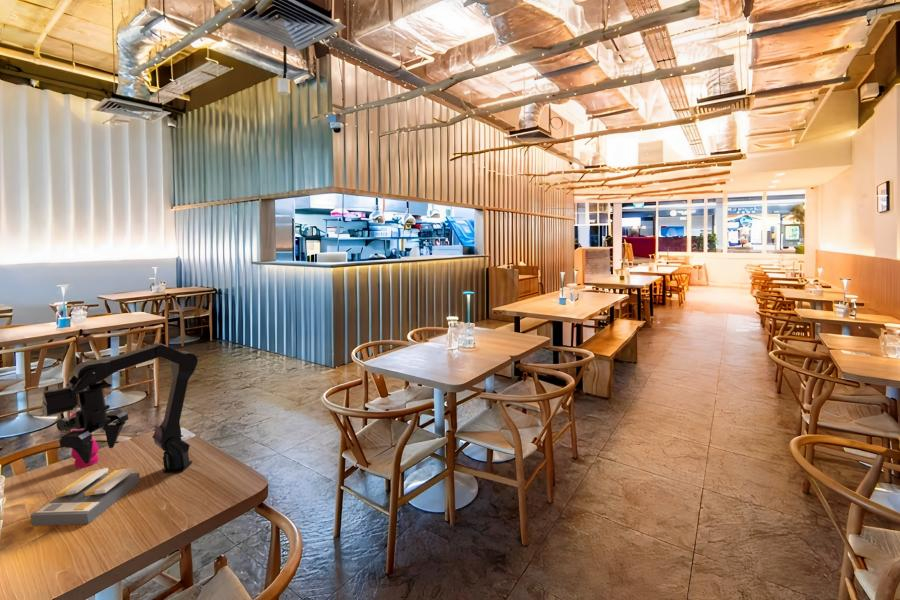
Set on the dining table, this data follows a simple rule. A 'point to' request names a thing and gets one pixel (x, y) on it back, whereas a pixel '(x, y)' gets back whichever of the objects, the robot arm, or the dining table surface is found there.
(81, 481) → the switch
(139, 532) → the dining table surface
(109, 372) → the robot arm
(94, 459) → the pepper mill
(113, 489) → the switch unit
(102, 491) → the switch
